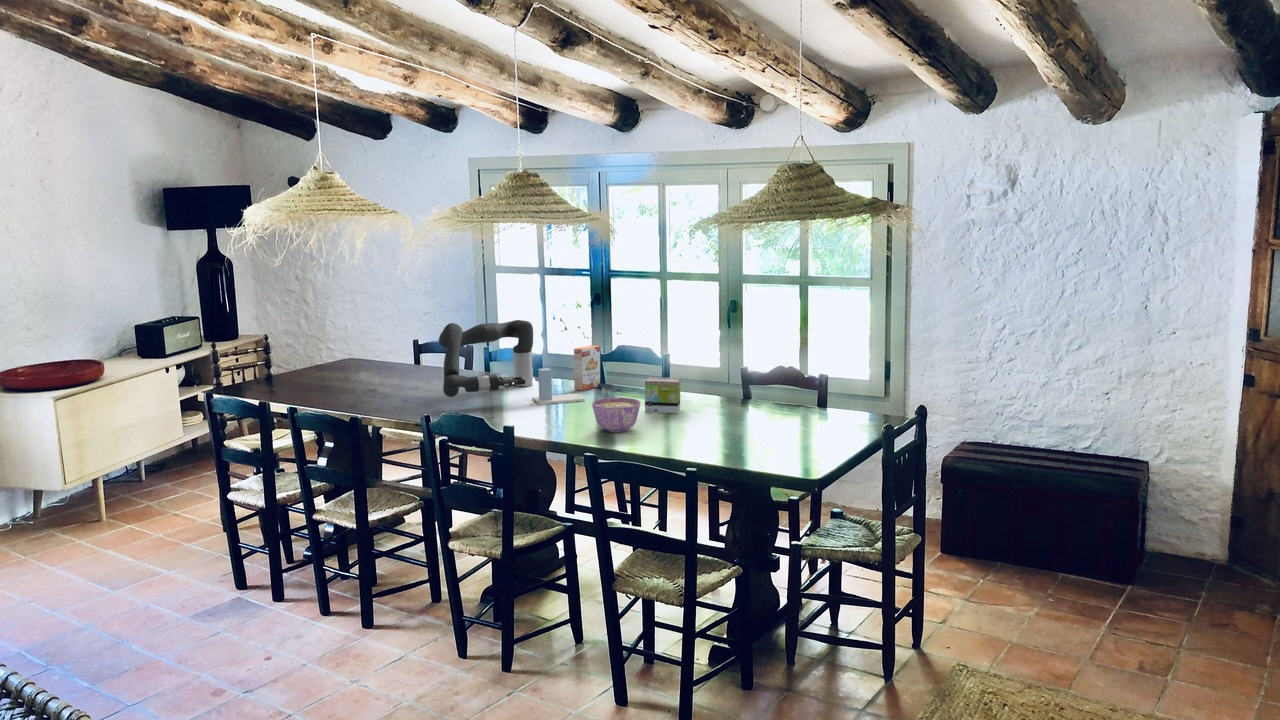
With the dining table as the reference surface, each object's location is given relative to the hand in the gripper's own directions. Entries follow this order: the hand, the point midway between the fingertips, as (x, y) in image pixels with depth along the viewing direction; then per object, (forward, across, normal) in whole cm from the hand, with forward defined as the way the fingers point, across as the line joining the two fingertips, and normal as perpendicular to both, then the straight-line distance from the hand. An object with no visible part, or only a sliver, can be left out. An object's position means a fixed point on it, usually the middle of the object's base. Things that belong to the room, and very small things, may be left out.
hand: (523, 380), depth 458 cm
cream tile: (+17, 0, -11) cm, 20 cm away
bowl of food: (+24, +66, -11) cm, 71 cm away
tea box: (+54, +41, -11) cm, 68 cm away
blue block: (+10, 0, -10) cm, 14 cm away
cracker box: (+38, -22, -11) cm, 45 cm away
